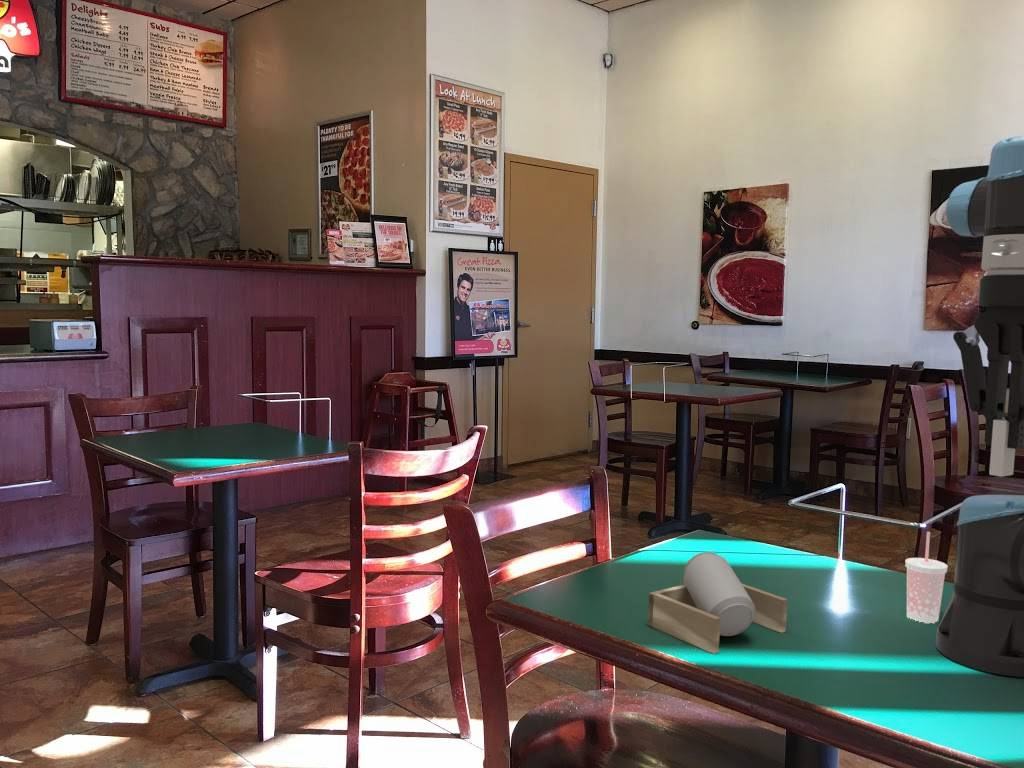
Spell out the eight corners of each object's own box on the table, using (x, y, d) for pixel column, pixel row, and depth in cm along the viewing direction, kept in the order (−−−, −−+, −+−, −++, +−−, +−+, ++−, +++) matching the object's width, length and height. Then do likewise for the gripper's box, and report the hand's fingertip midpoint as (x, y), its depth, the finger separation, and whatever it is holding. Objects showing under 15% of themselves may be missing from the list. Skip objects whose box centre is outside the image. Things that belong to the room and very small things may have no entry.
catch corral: (718, 606, 142) (720, 576, 142) (785, 631, 132) (787, 599, 131) (647, 624, 133) (649, 592, 132) (713, 653, 122) (715, 619, 122)
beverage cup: (948, 627, 136) (955, 538, 134) (906, 623, 137) (912, 535, 136) (937, 613, 142) (943, 528, 140) (897, 610, 143) (903, 525, 142)
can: (755, 636, 128) (722, 581, 139) (761, 597, 125) (727, 544, 135) (706, 643, 127) (677, 588, 137) (711, 604, 124) (681, 550, 134)
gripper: (945, 273, 105) (930, 468, 107) (1064, 271, 94) (1046, 487, 96) (976, 276, 109) (962, 463, 111) (1093, 274, 99) (1075, 481, 101)
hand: (1001, 474), depth 104 cm, fingers closed
